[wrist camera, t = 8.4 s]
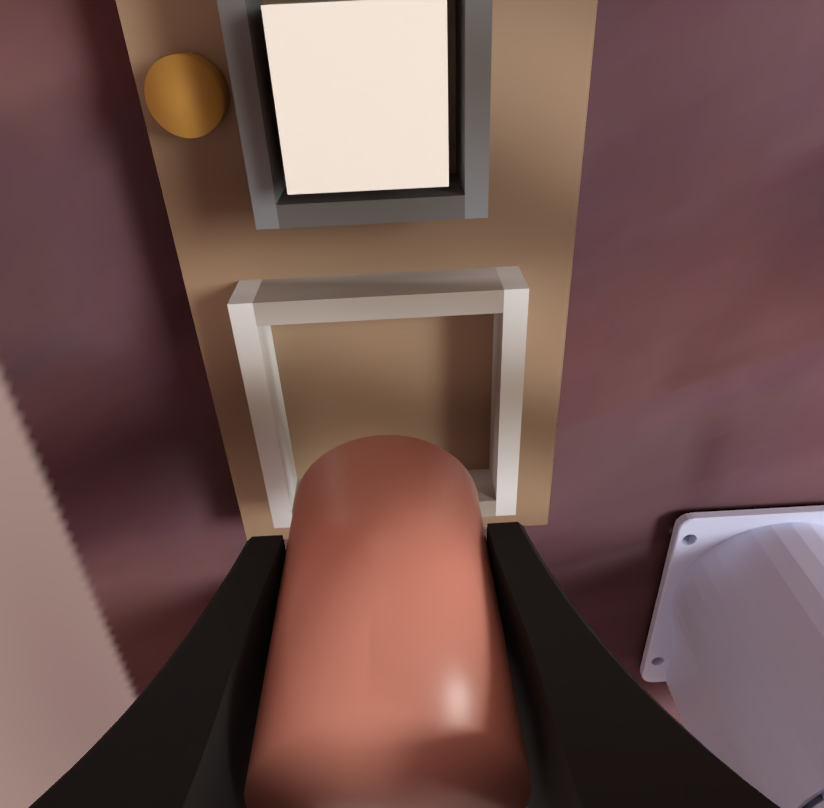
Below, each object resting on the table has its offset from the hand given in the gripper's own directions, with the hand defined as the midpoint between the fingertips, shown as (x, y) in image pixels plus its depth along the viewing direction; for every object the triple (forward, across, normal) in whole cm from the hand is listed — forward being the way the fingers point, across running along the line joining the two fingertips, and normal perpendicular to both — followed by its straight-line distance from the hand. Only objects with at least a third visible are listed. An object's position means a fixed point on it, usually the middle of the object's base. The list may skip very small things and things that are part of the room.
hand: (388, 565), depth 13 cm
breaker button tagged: (+6, 0, -8) cm, 10 cm away
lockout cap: (+1, 0, 0) cm, 1 cm away
